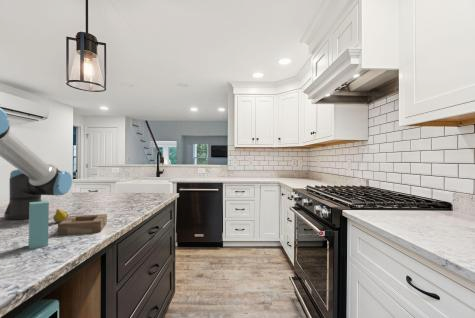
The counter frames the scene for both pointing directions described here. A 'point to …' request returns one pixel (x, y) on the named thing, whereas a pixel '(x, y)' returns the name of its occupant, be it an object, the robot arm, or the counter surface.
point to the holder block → (82, 224)
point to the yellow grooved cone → (60, 216)
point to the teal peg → (38, 224)
